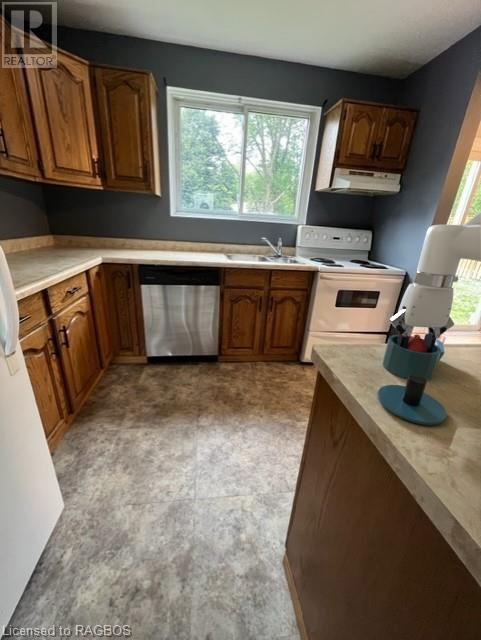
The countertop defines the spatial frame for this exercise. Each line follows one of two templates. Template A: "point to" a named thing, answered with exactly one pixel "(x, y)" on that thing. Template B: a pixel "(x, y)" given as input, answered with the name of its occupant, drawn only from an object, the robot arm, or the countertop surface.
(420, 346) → the onion
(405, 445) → the countertop surface
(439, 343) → the yogurt
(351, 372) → the countertop surface
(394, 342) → the pot
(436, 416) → the lid
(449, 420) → the countertop surface
